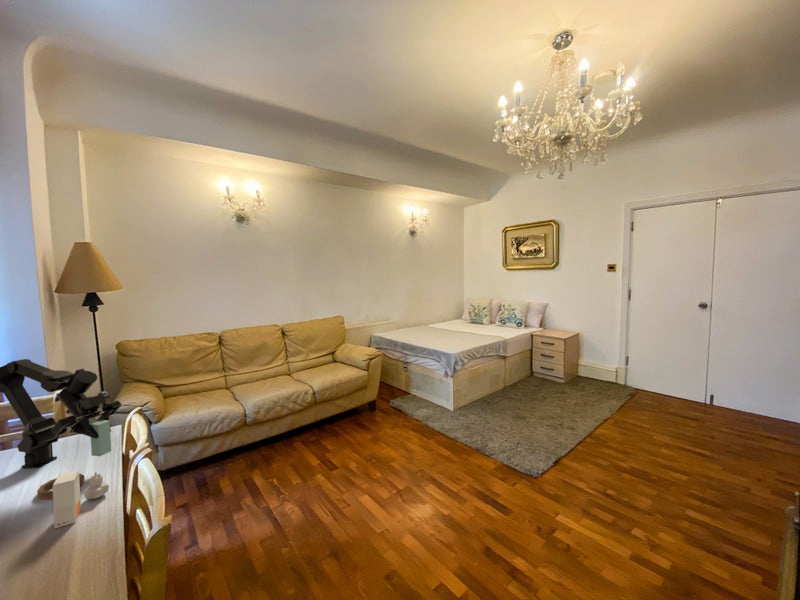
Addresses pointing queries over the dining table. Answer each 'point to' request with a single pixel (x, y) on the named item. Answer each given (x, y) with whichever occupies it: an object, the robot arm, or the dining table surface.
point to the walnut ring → (49, 494)
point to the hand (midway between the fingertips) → (103, 435)
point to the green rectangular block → (101, 438)
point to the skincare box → (66, 499)
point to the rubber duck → (96, 487)
